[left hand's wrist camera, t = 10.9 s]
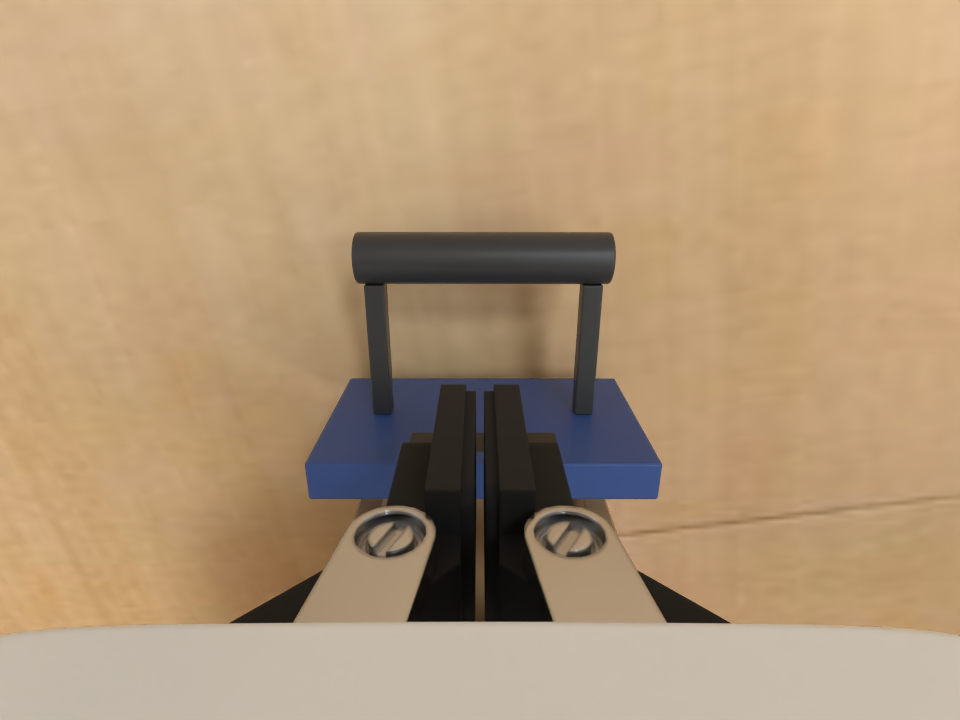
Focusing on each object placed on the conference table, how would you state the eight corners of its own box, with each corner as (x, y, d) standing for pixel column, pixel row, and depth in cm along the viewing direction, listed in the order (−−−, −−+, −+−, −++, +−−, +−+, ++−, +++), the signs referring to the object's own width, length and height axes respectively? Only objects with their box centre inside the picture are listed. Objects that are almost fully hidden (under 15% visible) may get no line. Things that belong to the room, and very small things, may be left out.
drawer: (336, 219, 19) (276, 253, 14) (629, 220, 19) (692, 253, 14) (381, 722, 28) (356, 869, 23) (581, 722, 28) (607, 869, 23)
